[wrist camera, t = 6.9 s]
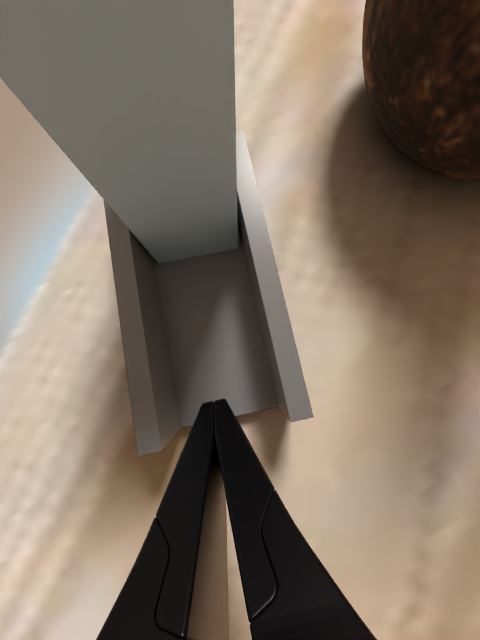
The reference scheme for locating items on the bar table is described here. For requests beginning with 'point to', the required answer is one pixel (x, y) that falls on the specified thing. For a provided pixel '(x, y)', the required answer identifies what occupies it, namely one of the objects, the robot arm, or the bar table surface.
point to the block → (137, 108)
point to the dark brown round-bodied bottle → (426, 79)
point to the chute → (205, 326)
